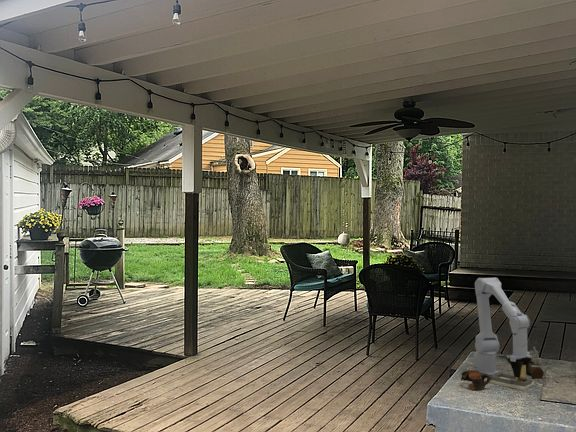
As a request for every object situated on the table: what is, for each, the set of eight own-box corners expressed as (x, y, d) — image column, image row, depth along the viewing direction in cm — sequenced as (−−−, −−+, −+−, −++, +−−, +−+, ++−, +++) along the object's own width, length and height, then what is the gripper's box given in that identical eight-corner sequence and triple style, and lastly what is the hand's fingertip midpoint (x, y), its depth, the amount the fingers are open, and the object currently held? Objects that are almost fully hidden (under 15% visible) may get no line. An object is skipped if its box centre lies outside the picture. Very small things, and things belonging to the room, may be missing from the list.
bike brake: (538, 358, 274) (497, 361, 280) (536, 344, 275) (495, 348, 281) (542, 365, 261) (499, 368, 267) (540, 351, 262) (496, 354, 268)
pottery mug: (462, 391, 224) (458, 371, 228) (465, 395, 231) (461, 376, 235) (492, 386, 220) (487, 366, 224) (494, 391, 228) (489, 371, 232)
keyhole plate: (488, 382, 234) (488, 376, 234) (500, 377, 242) (500, 371, 242) (522, 389, 223) (522, 383, 223) (533, 384, 231) (533, 378, 231)
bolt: (523, 373, 255) (539, 381, 240) (514, 368, 255) (530, 376, 240) (529, 363, 255) (545, 370, 240) (520, 357, 255) (536, 364, 240)
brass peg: (514, 383, 229) (514, 364, 230) (518, 381, 232) (517, 362, 232) (523, 385, 227) (523, 366, 227) (527, 383, 229) (527, 364, 230)
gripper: (521, 347, 222) (522, 380, 222) (536, 342, 232) (537, 374, 232) (505, 345, 227) (505, 377, 227) (520, 340, 237) (520, 371, 237)
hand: (520, 375), depth 230 cm, fingers open, 6 cm apart
